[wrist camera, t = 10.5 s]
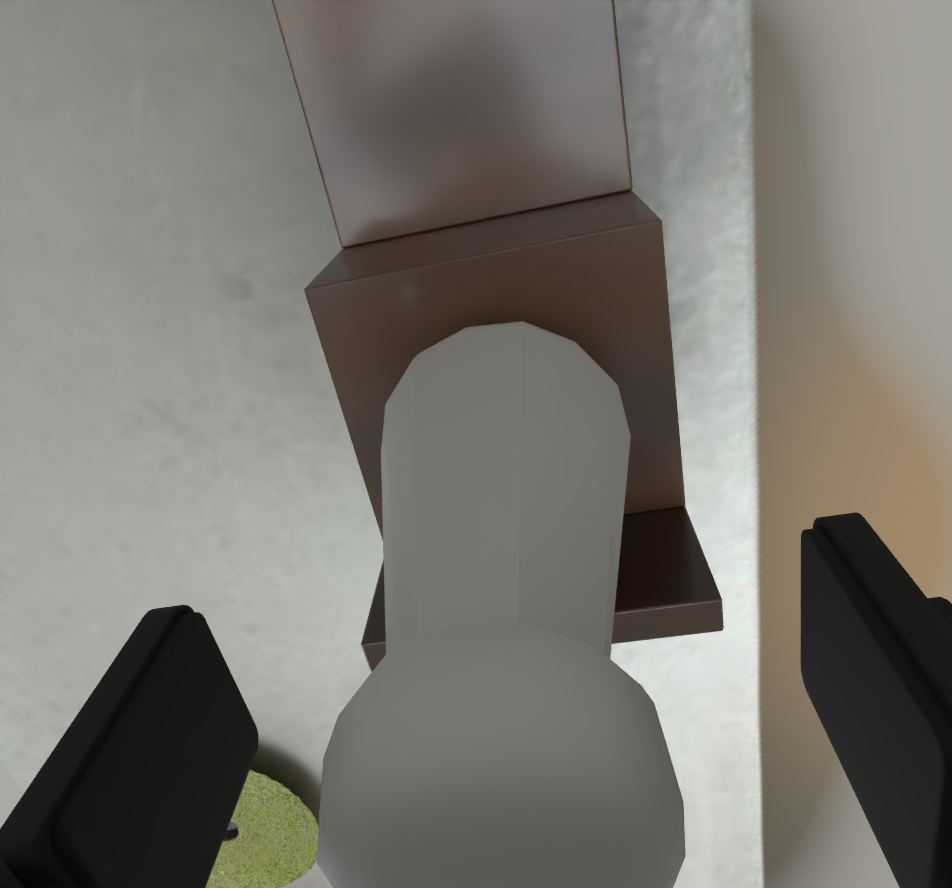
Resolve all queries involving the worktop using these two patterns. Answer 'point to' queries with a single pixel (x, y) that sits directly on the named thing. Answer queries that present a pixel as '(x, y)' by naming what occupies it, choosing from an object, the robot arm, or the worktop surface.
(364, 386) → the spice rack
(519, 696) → the salt shaker
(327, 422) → the worktop surface
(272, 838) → the mat
